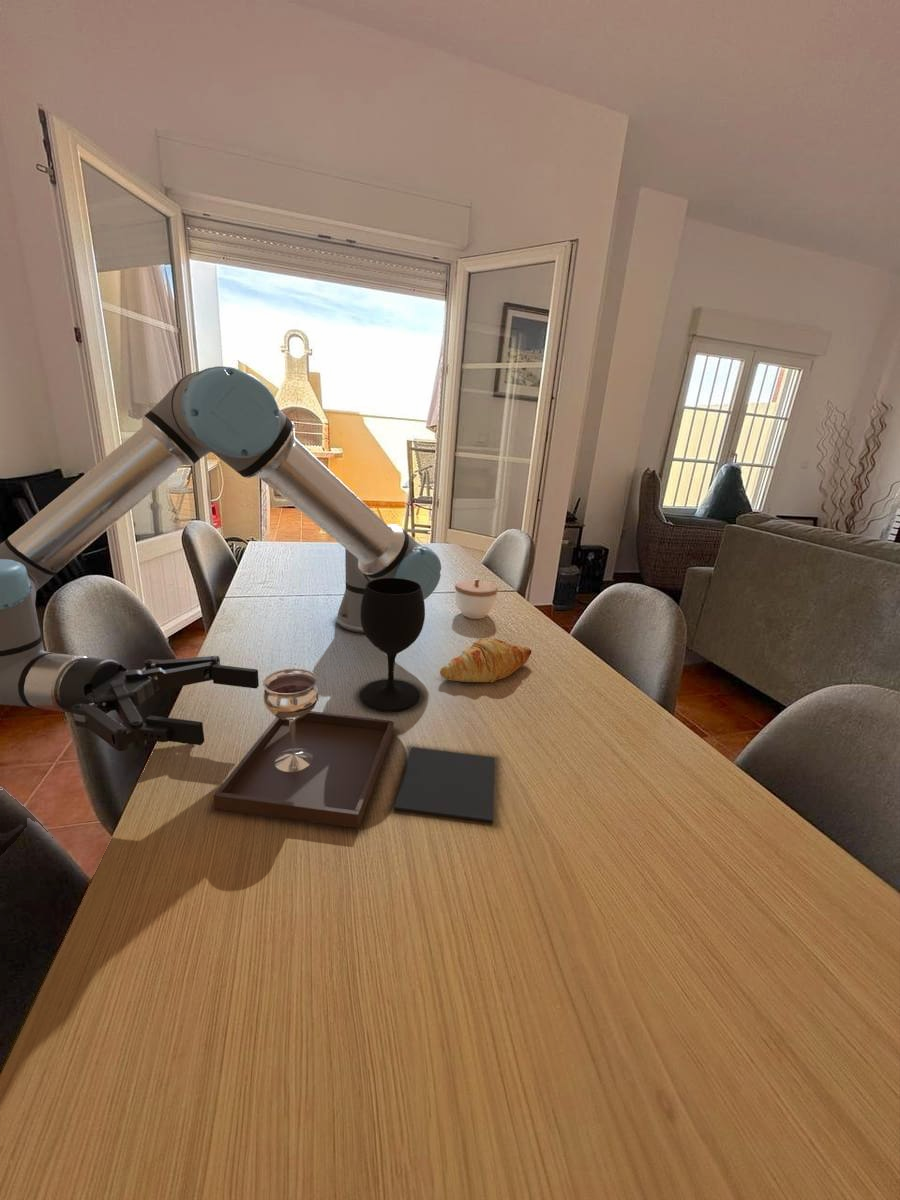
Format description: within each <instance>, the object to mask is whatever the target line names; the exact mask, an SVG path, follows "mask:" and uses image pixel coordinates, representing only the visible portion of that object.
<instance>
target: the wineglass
mask: <svg viewBox="0 0 900 1200" xmlns="http://www.w3.org/2000/svg"><path fill="white" fill-rule="evenodd" d="M318 681H319V680H318V675H316V673H315V672H313V671H311V670H309V669H308V670H307V669H304V668H287V669H286V668H285V669H281V670H277V671H275V672H272V673H270V674H269V675H267V676H266V677H265V678H264V679H263V680H262V687H263V689H264V690H263V697H262V701H263V704H264V706H265V708H266V710H267V712H268V713H269V714H271V715H272V716H274V717H275V718H276V717H277V718H279V719H282V720H287V721H289V724H290V735H291V746H292V749H289V750H286V751H284V752H282V753H280V754H279V755H278V756H277V757H276V759H275V766H276V768H278V769H279V770H281V771H285V772H295V771H299V770H302V769H304V768H306V767H308V766H309V765H310V764H311V763H312V760H313V755H312V754H311V752H309V751H308V750H305V749H301V748H295V721H296V720H297V719H300V718H302V717H304V716H305V715H306V714H308V713H309V712H310V711H313V710H314V709H315V707H316V705H317V703H318V701H319V697H320V696H319V695H320V694H319V688H318V686H317V683H318Z"/></svg>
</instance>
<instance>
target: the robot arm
mask: <svg viewBox="0 0 900 1200" xmlns="http://www.w3.org/2000/svg"><path fill="white" fill-rule="evenodd" d="M141 425H142V426H141V427H140V429H138V430H137V431H135V432H134V433H133V434H132V435H131V436H130V437H128V438H127V439H126V440H125V441H123V442H122V443H121V444H120V445H119V446H117V447H116V448H115V449H114V450H113V451H111V452H110V453H109V454H107V455H106V456H105V457H104V458H103V459H102V460H100V461H99V462H98V463H97V464H95V465H94V466H93V467H92V468H91V469H89V470H88V471H87V472H86V473H85V474H83V475H82V476H81V477H80V478H79V479H77V480H76V481H75V482H74V483H72V484H71V485H70V486H69V487H68V488H67V489H65V490H64V491H63V492H62V493H60V494H59V495H58V496H57V497H56V498H54V499H53V500H52V501H51V502H49V503H48V504H47V505H46V506H45V507H44V508H42V509H41V510H39V511H38V512H37V513H36V514H35V515H33V516H32V517H31V518H30V519H29V520H28V521H27V522H25V523H24V524H23V525H22V526H20V527H19V528H18V529H16V530H15V531H14V532H13V533H12V534H10V535H9V536H8V537H7V538H6V539H5V540H4V541H3V542H1V543H0V705H1V706H2V705H3V706H4V705H5V706H15V707H24V708H31V709H38V710H46V711H53V712H54V711H55V712H62V713H69V714H72V716H73V720H74V724H75V726H76V727H80V728H85V729H88V730H90V731H91V732H93V734H95V735H96V736H98V737H99V738H100V739H101V740H103V741H104V742H106V743H107V744H108V745H109V746H111V747H112V748H113V749H114V750H116V751H117V752H124V751H127V750H128V749H129V748H130V744H133V745H134V748H136V749H140V748H144V747H145V746H147V741H149V742H155V743H157V742H158V743H168V742H171V743H181V744H188V745H195V746H202V744H204V743H205V737H204V736H205V734H204V733H205V732H204V726H203V721H196V720H190V719H182V718H181V719H180V718H173V717H164V716H157V715H149V716H147V717H146V718H145V722H144V719H143V718H142V716H141V715H140V713H139V711H138V710H137V708H136V706H138V707H139V706H140V705H142V704H143V703H144V702H145V701H146V700H147V699H149V698H151V697H152V696H155V695H160V694H164V693H166V691H167V690H168V689H169V690H170V689H175V688H179V687H184V686H189V685H195V684H199V683H205V682H210V681H212V683H213V685H214V684H215V685H223V686H231V687H238V688H249V689H254V690H255V689H256V690H257V689H258V688H259V687H260V683H259V682H260V681H259V669H258V668H257V669H256V668H248V667H240V666H231V665H223V664H221V660H220V659H221V658H220V656H219V655H207V656H195V657H183V658H172V659H152V658H149V659H146V660H144V667H143V668H142V669H127V668H126V667H124V666H123V665H122V664H121V663H120V662H118V661H117V660H114V659H109V658H108V659H107V658H101V657H98V658H97V657H92V656H91V657H90V656H89V657H88V656H85V655H76V654H65V653H58V652H57V653H56V652H50V651H45V648H44V642H43V636H42V633H41V629H40V623H39V617H38V612H37V608H36V599H37V592H38V591H39V589H41V588H42V587H44V585H45V584H47V583H48V582H49V581H50V580H52V578H54V577H55V576H56V575H57V574H58V573H59V572H60V571H61V570H62V569H63V568H64V567H66V566H67V565H68V564H69V563H70V562H71V561H72V560H74V559H75V558H76V557H77V556H79V554H81V553H82V552H83V551H84V550H85V549H86V548H88V547H89V546H90V545H91V544H92V543H94V541H96V540H97V539H99V537H101V536H102V535H104V533H105V532H107V530H109V529H110V528H111V527H112V526H114V525H115V524H116V523H117V522H118V521H120V520H121V519H122V518H123V517H124V516H125V515H126V514H128V513H129V512H130V511H131V510H132V509H133V508H134V507H136V505H138V504H139V503H141V501H143V500H144V499H145V498H146V497H147V496H148V495H150V494H151V493H152V492H153V491H155V489H156V488H158V487H159V486H160V485H161V484H162V483H163V482H165V481H166V480H167V479H169V477H171V475H173V474H174V473H175V472H176V471H178V469H180V468H181V467H183V466H194V465H195V464H197V462H198V461H199V460H201V459H202V458H204V457H205V456H207V455H208V454H211V453H212V454H214V455H215V456H216V457H217V458H218V459H220V460H221V461H223V462H224V463H225V464H226V465H227V466H229V467H230V468H231V469H233V470H234V471H235V472H236V473H237V474H239V475H240V476H241V477H242V478H244V479H256V478H258V479H260V480H261V481H262V482H264V483H265V484H266V485H267V486H269V487H270V488H271V489H272V490H273V491H275V492H276V493H277V494H278V495H280V496H281V497H282V498H283V499H285V501H287V502H288V503H289V504H291V505H292V506H293V507H294V508H296V509H297V510H298V511H299V512H301V513H302V514H303V515H304V516H305V517H307V518H308V519H309V520H310V521H311V522H313V523H314V524H315V525H316V526H317V527H319V528H320V529H321V530H322V531H323V532H325V533H326V534H327V535H328V536H329V537H331V538H332V539H334V540H335V542H337V544H339V545H341V546H342V547H343V548H344V550H345V551H344V552H345V556H344V557H345V559H344V560H345V563H344V565H345V566H344V567H345V591H344V593H343V596H342V600H341V603H340V605H339V608H338V611H337V624H338V626H340V627H341V628H343V629H344V630H346V631H349V632H353V633H359V634H365V633H364V631H363V628H362V624H361V617H360V611H361V603H362V598H363V594H364V591H365V588H366V585H367V583H368V582H370V581H372V580H376V579H382V578H400V579H407V580H411V581H414V582H416V583H418V584H419V585H420V586H421V589H422V593H423V597H424V601H425V600H427V599H428V598H430V596H431V595H433V593H434V591H435V590H436V588H437V587H438V584H439V582H440V579H441V570H442V564H441V559H440V558H439V556H438V554H437V553H436V552H435V551H434V550H432V549H431V548H429V547H428V546H423V545H421V544H419V542H417V541H416V540H415V539H414V538H413V537H412V536H411V535H410V534H409V533H408V532H407V531H406V530H404V529H403V527H402V526H400V525H398V524H387V523H386V522H385V521H384V520H383V519H382V518H381V517H379V515H378V514H376V512H374V511H373V510H372V509H371V508H370V507H369V506H368V505H367V504H366V503H365V502H363V501H362V500H361V498H360V497H358V496H357V495H356V494H355V493H354V492H353V491H352V490H351V489H350V488H349V487H348V486H347V485H345V484H344V482H342V480H340V478H339V477H338V476H336V475H335V474H334V473H333V472H332V471H331V470H330V469H328V467H327V466H326V465H324V463H322V462H321V461H320V459H318V458H317V457H316V456H315V455H314V454H313V453H312V452H310V451H309V449H307V448H306V447H305V446H304V444H302V443H301V442H300V441H299V440H298V439H297V438H296V436H295V435H296V433H295V424H294V422H293V421H292V420H291V419H290V418H289V417H288V416H287V415H286V414H285V413H284V412H283V411H282V410H281V409H280V408H279V405H278V403H277V401H276V398H275V396H274V394H273V393H272V391H270V389H269V388H268V387H267V386H266V385H265V384H264V383H263V382H262V381H261V380H260V379H259V378H257V377H255V376H254V375H253V374H251V373H249V372H247V371H244V370H241V369H238V368H235V367H230V366H223V365H222V366H221V365H220V366H213V367H208V368H204V369H202V370H199V371H195V372H191V373H188V374H186V375H184V376H183V377H182V378H180V379H179V380H178V381H177V382H176V383H175V384H174V385H173V387H172V388H171V389H170V390H169V391H168V392H167V393H166V395H165V396H164V397H162V398H161V400H160V401H159V402H158V403H156V404H155V405H154V406H153V407H152V408H151V409H150V410H149V411H148V412H147V413H145V414H144V415H143V416H141ZM156 680H157V684H158V685H157V686H156V685H155V681H156ZM113 711H115V712H116V713H117V715H118V717H119V719H120V720H121V721H122V723H123V724H124V725H123V724H122V723H120V722H118V721H117V720H116V719H114V718H113V717H111V716H110V715H108V714H109V713H110V712H113Z"/></svg>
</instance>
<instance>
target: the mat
mask: <svg viewBox="0 0 900 1200" xmlns="http://www.w3.org/2000/svg"><path fill="white" fill-rule="evenodd" d="M494 782H495V757H494V756H487V755H477V754H470V753H463V752H453V751H446V750H437V749H431V748H430V749H429V748H422V747H413V746H411V747H410V751H409V754H408V758H407V760H406V765H405V768H404V771H403V774H402V778H401V782H400V785H399V788H398V792H397V796H396V799H395V803H394V806H393V810H394V811H401V812H409V813H416V814H424V815H430V816H439V817H447V818H453V819H461V820H469V821H476V822H484V823H491V824H492V823H494V790H495V788H494V786H495V783H494Z"/></svg>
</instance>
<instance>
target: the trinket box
mask: <svg viewBox="0 0 900 1200" xmlns="http://www.w3.org/2000/svg"><path fill="white" fill-rule="evenodd" d="M454 589H455V590H454V601H455V604H456V607H457V609H458V611H460V613H461V615H462V616H464V617H466V618H468V619H483V618H485V617H486V616H487V615H488V614H490V613H491V611H492V610H493V608H494V606H495V604H496V600H497V593H498V589H499V588H498V586H497V585H496V584H494V583H492V582H489V581H486V580H481V579H479V578H475V579H462V580H459V581H456V583H455V585H454Z"/></svg>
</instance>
